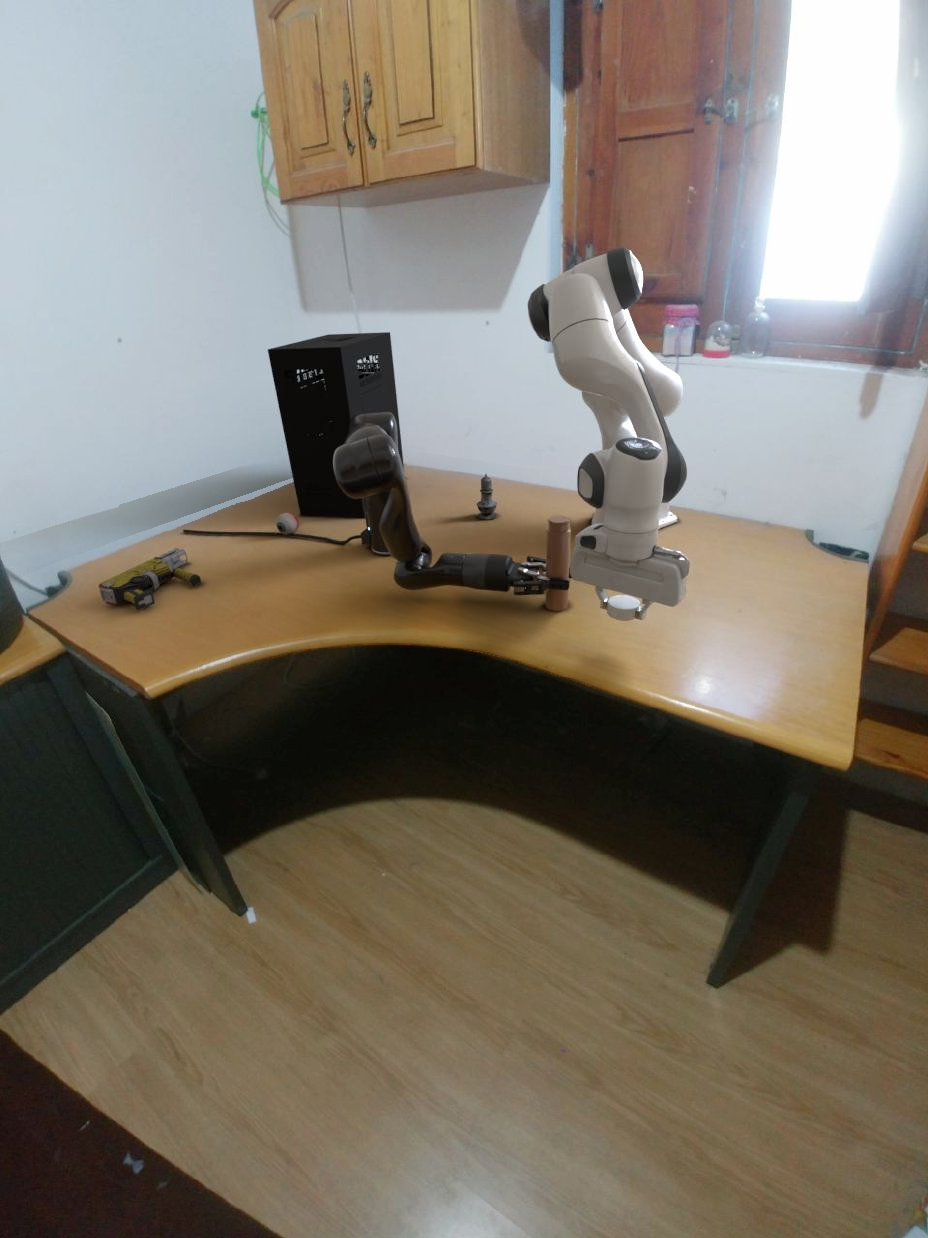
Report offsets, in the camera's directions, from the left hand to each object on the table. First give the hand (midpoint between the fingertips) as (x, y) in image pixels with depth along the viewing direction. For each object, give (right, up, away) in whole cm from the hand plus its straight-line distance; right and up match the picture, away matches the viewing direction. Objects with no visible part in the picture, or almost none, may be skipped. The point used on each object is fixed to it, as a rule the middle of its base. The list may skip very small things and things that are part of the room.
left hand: (570, 578), depth 119 cm
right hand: (+7, -7, -12) cm, 16 cm away
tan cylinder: (-2, -5, +4) cm, 7 cm away
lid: (+7, -5, -13) cm, 16 cm away
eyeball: (-69, +15, +46) cm, 84 cm away
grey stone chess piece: (-15, +21, +50) cm, 56 cm away
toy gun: (-90, -1, +21) cm, 93 cm away
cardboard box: (-55, +31, +72) cm, 96 cm away
